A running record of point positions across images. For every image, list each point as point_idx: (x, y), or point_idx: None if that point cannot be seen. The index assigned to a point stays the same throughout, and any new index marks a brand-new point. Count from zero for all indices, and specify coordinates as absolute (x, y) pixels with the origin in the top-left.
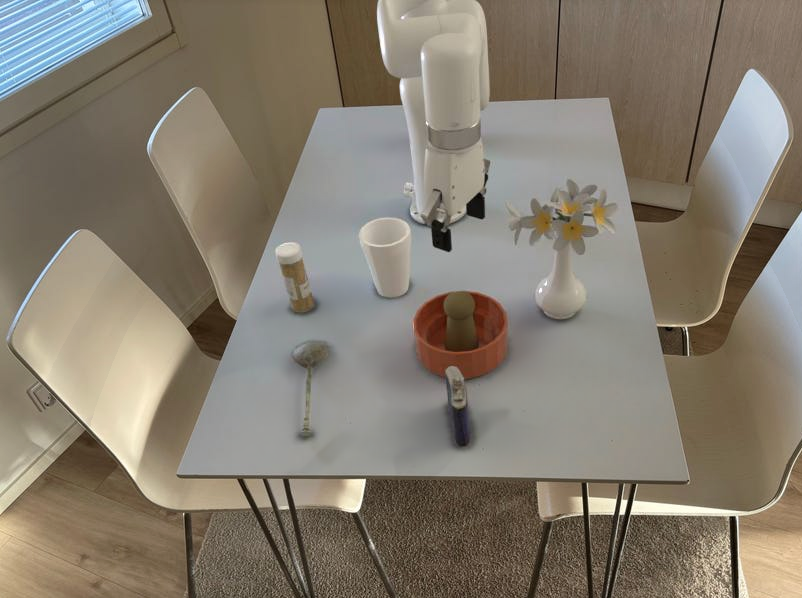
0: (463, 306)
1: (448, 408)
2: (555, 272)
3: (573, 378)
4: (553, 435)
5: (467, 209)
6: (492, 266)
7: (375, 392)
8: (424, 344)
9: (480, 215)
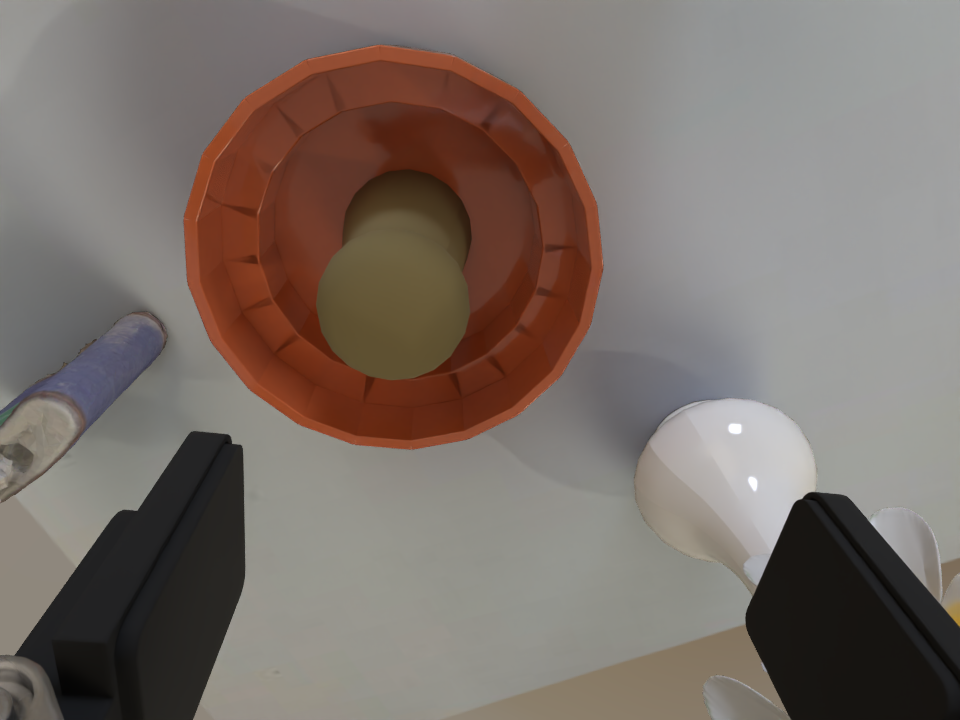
0: (350, 363)
1: (118, 321)
2: (744, 550)
3: (427, 558)
4: None
5: (829, 547)
6: (913, 140)
7: (26, 16)
8: (190, 195)
9: (764, 643)
